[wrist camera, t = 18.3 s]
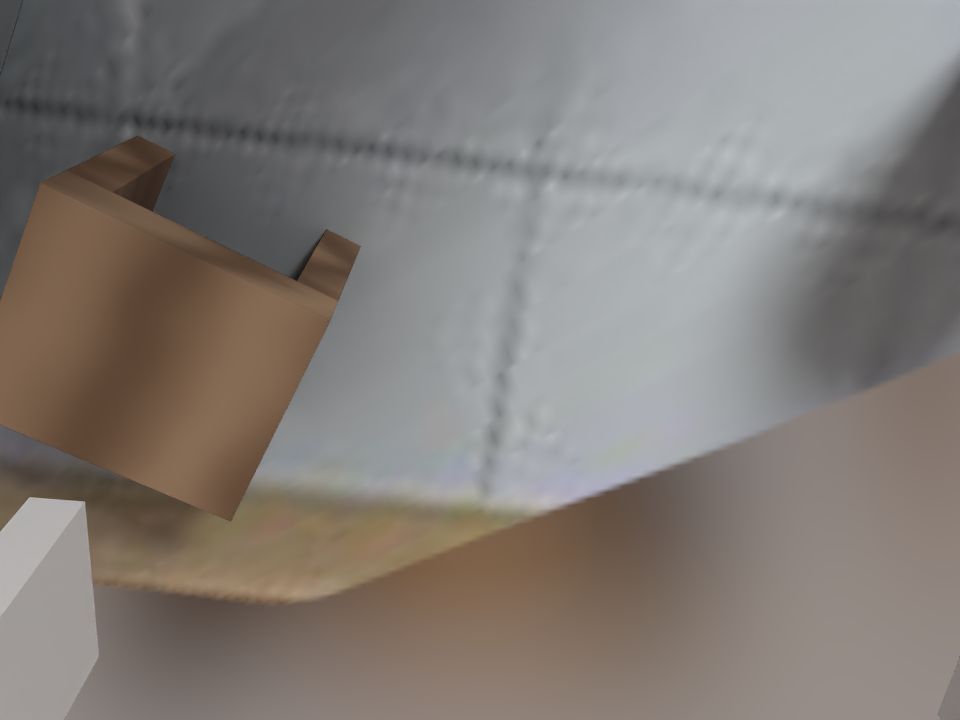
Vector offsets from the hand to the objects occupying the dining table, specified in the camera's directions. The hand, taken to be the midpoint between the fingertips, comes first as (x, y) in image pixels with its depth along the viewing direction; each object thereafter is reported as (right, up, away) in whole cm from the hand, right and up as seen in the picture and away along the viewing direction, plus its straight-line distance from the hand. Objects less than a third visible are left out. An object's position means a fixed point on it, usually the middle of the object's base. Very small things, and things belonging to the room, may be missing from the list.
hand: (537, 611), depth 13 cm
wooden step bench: (-17, +9, +25) cm, 32 cm away
